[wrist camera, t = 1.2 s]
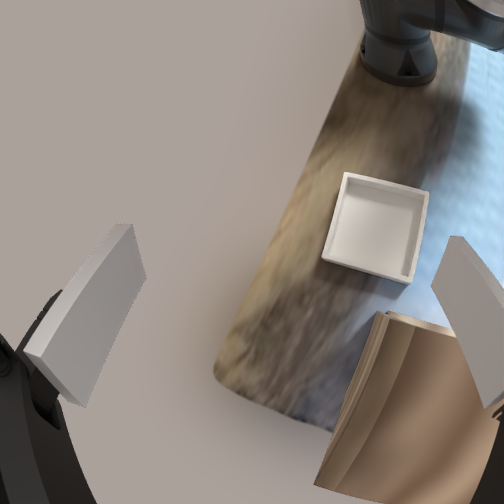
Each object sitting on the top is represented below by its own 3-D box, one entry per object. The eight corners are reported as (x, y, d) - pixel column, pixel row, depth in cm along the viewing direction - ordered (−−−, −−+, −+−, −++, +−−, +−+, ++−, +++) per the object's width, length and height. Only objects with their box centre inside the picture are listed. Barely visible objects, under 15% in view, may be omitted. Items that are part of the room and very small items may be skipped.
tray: (346, 180, 39) (344, 171, 36) (425, 200, 34) (429, 192, 31) (324, 260, 38) (321, 257, 36) (408, 284, 33) (411, 283, 31)
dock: (344, 396, 34) (310, 489, 13) (377, 307, 34) (394, 310, 14) (428, 420, 28) (467, 516, 8) (464, 332, 29) (556, 356, 8)
